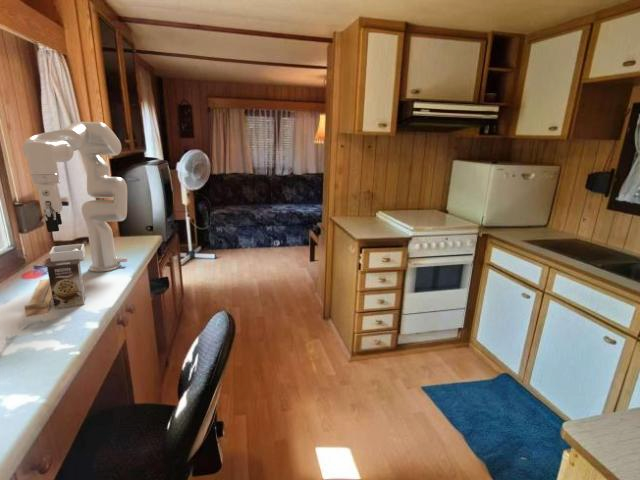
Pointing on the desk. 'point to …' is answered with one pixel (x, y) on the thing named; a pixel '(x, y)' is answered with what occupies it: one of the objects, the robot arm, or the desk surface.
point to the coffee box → (66, 283)
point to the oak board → (40, 299)
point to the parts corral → (67, 252)
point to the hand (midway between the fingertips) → (55, 227)
